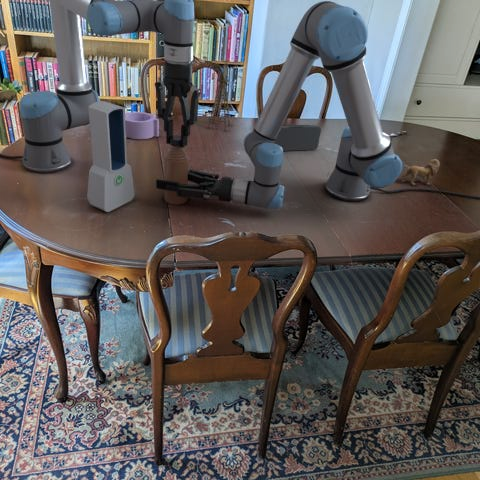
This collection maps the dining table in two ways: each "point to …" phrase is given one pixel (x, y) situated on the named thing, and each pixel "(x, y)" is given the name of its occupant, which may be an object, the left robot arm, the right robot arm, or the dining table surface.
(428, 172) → the lion figurine
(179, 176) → the bottle
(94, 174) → the electronic device
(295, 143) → the handheld gaming console
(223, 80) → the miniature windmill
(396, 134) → the sword
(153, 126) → the clip
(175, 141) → the cap
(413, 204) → the dining table surface
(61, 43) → the left robot arm
